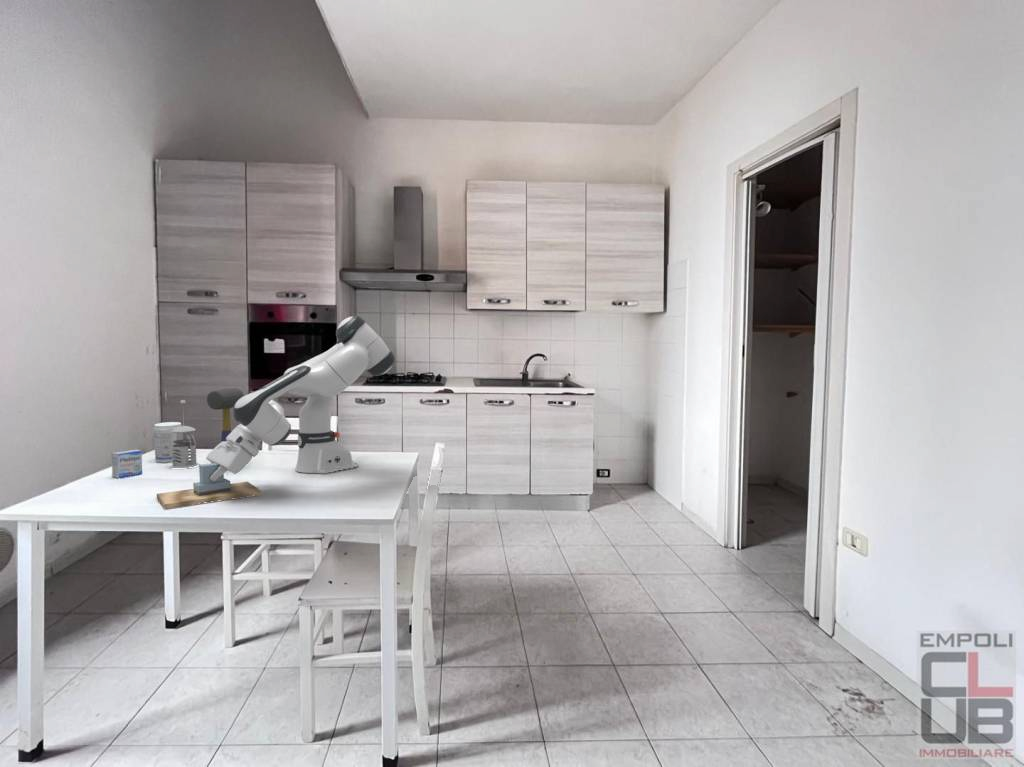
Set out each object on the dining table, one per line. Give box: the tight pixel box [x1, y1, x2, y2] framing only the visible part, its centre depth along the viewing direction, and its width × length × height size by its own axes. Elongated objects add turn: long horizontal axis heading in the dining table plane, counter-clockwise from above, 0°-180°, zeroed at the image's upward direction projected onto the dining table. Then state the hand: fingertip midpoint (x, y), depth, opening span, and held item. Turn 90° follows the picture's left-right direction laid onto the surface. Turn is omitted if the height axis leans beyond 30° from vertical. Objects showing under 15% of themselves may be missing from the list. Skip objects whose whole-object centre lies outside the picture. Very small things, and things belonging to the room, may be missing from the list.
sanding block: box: [192, 462, 231, 496], centre depth 183 cm, size 9×5×8 cm, turn 135°
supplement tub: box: [153, 421, 184, 464], centre depth 233 cm, size 10×10×15 cm
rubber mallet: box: [206, 387, 245, 443], centre depth 218 cm, size 12×8×30 cm, turn 169°
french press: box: [170, 399, 200, 469], centre depth 223 cm, size 10×12×25 cm
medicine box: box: [111, 449, 143, 479], centre depth 208 cm, size 8×4×9 cm, turn 148°
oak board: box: [156, 481, 262, 510], centre depth 183 cm, size 26×14×2 cm, turn 129°
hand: (208, 478), depth 182 cm, fingers closed on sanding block, 3 cm apart
